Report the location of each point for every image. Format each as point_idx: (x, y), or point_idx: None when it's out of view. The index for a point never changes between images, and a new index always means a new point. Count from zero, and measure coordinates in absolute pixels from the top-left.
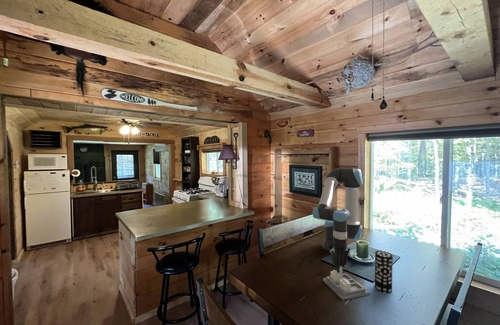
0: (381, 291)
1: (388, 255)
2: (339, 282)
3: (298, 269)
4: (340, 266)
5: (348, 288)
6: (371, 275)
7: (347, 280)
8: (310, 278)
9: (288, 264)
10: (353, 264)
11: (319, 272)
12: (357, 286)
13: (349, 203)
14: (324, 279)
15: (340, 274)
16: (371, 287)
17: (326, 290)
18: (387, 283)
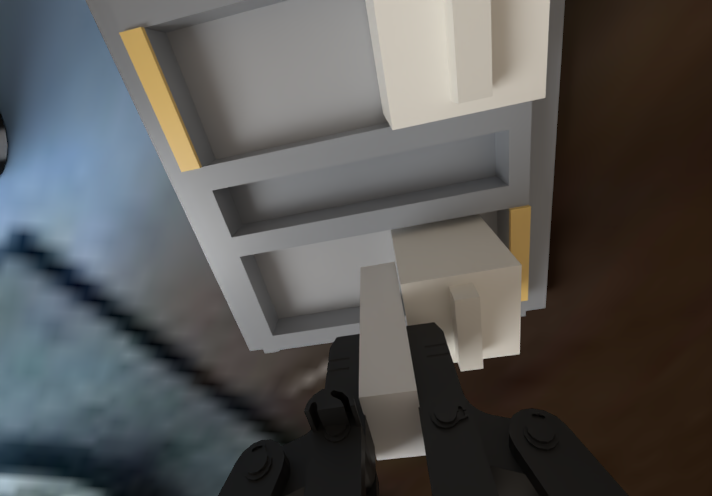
0: None
1: None
2: (430, 199)
3: (641, 441)
4: (394, 409)
5: None
6: (14, 330)
7: (384, 74)
8: (634, 331)
9: (672, 492)
10: (142, 459)
11: (486, 398)
12: (212, 135)
13: None
14: (539, 292)
15: (404, 280)
16: (48, 143)
17: (620, 124)
18: None
